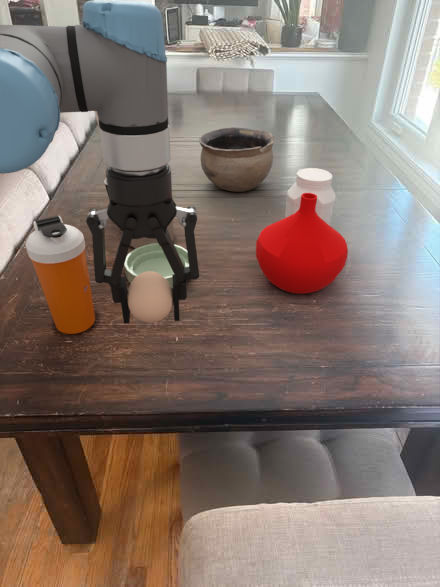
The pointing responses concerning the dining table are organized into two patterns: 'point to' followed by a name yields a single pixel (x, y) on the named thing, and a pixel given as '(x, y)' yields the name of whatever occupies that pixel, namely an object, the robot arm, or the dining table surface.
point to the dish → (152, 261)
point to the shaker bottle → (62, 273)
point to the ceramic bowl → (236, 157)
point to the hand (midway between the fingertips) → (152, 316)
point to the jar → (316, 184)
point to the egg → (150, 297)
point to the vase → (301, 250)
